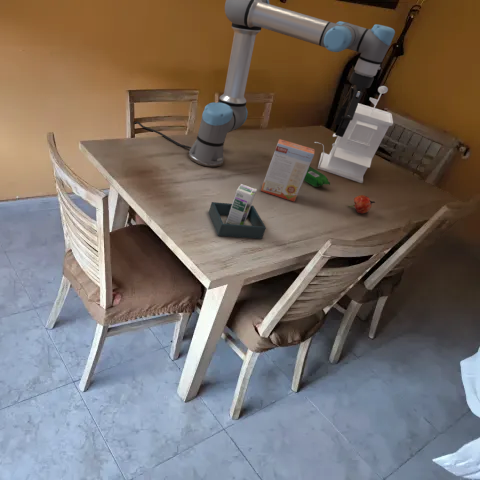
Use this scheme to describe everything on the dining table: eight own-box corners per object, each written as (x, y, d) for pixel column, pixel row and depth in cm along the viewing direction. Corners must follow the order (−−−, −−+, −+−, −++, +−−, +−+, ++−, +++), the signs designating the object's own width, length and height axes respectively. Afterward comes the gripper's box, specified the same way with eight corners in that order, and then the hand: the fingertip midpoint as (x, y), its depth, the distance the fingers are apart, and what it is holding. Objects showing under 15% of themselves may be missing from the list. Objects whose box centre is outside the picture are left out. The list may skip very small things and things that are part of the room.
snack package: (318, 192, 182) (323, 181, 179) (290, 174, 191) (295, 163, 188) (328, 189, 185) (333, 179, 182) (300, 172, 195) (305, 161, 192)
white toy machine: (363, 185, 196) (409, 99, 173) (304, 165, 202) (340, 79, 179) (363, 167, 215) (404, 87, 192) (309, 149, 221) (343, 69, 197)
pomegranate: (346, 216, 173) (372, 213, 166) (343, 198, 172) (369, 194, 165) (353, 213, 178) (378, 210, 171) (350, 195, 178) (375, 192, 171)
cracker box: (295, 196, 174) (315, 148, 162) (294, 202, 169) (315, 154, 157) (262, 185, 177) (279, 137, 164) (259, 191, 172) (277, 142, 160)
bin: (218, 235, 140) (221, 224, 138) (208, 212, 151) (211, 201, 148) (261, 238, 144) (266, 227, 141) (249, 216, 154) (253, 205, 152)
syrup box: (224, 226, 146) (236, 189, 137) (229, 218, 150) (241, 182, 142) (240, 232, 144) (253, 195, 136) (244, 224, 149) (257, 188, 141)
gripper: (378, 84, 141) (349, 144, 154) (371, 69, 161) (346, 123, 174) (355, 78, 142) (329, 137, 155) (351, 64, 162) (327, 117, 175)
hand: (338, 130), depth 164 cm, fingers open, 13 cm apart
